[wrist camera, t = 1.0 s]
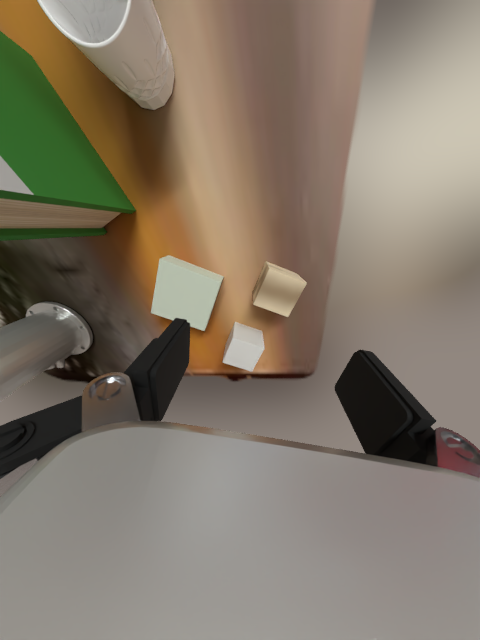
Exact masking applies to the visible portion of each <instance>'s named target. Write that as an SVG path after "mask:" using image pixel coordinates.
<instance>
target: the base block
mask: <svg viewBox="0 0 480 640" xmlns="http://www.w3.org/2000/svg"><path fill="white" fill-rule="evenodd" d="M223 278H224V276H221V275H218V274H216V273H213V272H211V271H208V270H206V269H203V268H200V267H198V266H195V265H193V264H190V263H188V262H185V261H183V260H180V259H177V258H175V257H172V256H170V255H168V256H166V257H163V258H160V260H159V266H158V272H157V279H156V285H155V291H154V297H153V303H152V309H151V313H152V314H155V315H158V316H161V317H164V318H167V319H170V320H174V319H175V318H180V319H186V320H187V322H188V323H190V326H191V327H194V328H196V329H199V330H202V331H205V329H206V326H207V324H208V321H209V318H210V315H211V312H212V310H213V307H214V304H215V301H216V298H217V295H218V292H219V289H220V286H221V283H222V280H223Z"/></svg>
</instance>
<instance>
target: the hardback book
mask: <svg viewBox="0 0 480 640" xmlns="http://www.w3.org/2000/svg"><path fill="white" fill-rule="evenodd" d="M135 211H136V210H135V208H134V207H133V205H132V204H131V202H130V201H129V199H128V198H127V196H126V195H125V193H124V192H123V190H122V189H121V187H120V186H119V184H118V183H117V181H116V180H115V179H114V177H113V176H112V174H111V173H110V171H109V170H108V168H107V167H106V165H105V164H104V162H103V161H102V159H101V158H100V156H99V155H98V153H97V152H96V150H95V149H94V148H93V146H92V145H91V143H90V142H89V140H88V139H87V137H86V136H85V134H84V133H83V131H82V130H81V128H80V127H79V125H78V124H77V122H76V121H75V119H74V118H73V116H72V115H71V114H70V112H69V111H68V109H67V108H66V106H65V105H64V103H63V102H62V100H61V99H60V97H59V96H58V94H57V93H56V91H55V90H54V88H53V87H52V85H51V84H50V82H49V81H48V80H47V78H46V77H45V75H44V74H43V72H42V71H41V69H40V68H39V66H38V65H37V63H36V62H35V60H34V59H33V57H32V56H31V55H30V54H29V53H27V52H26V51H25V50H23V49H22V48H21V47H20V46H18V45H17V44H16V43H15V42H13V41H12V40H11V39H10V38H8V37H7V36H6V35H5V34H3V33H2V32H1V31H0V241H3V240H22V239H41V238H60V237H79V236H98V235H104V234H106V233H107V231H106V230H105V229H104V227H103V226H105V225H106V224H107V223H109V222H110V221H111V220H113V219H114V218H115V217H116V216H118V215H119V214H120V213H129V214H132V213H134V212H135Z"/></svg>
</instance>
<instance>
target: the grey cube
mask: <svg viewBox="0 0 480 640" xmlns="http://www.w3.org/2000/svg"><path fill="white" fill-rule="evenodd" d="M264 348H265V347H264V340H263V333H262V331H261V330H258V329H255V328H252V327H249V326H246V325H243V324H240V323H237V322H235V323H234V325H233V328H232V330H231V333H230V335H229V338H228V340H227V343H226V346H225V351H224V357H223V362H222V363H226V364H229V365H232V366H235V367H239V368H242V369H245V370H248V371H253V369H254V367H255V365H256V363H257V361H258V359H259V358H260V356H261V354H262V352H263V350H264Z"/></svg>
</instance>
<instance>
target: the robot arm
mask: <svg viewBox="0 0 480 640" xmlns="http://www.w3.org/2000/svg"><path fill="white" fill-rule="evenodd" d="M92 342H93V335H92V331H91V329H90V327H89V325H88V324H87V322H86V321H85V320H84V319H83V318H82V317H81V316H80V315H79V314H78V313H77V312H75V311H74V310H72V309H71V308H69V307H67V306H65V305H62V304H59V303H55V302H40V303H37V304H35V305H33V306H31V307H30V308H29V309H28V310H27V313H26V318H23V319H21V320H18V321H16V322H13V323H11V324H8V325H6V326H3V327H1V328H0V402H1V401H2V400H4V399H5V398H6V397H8V396H9V395H11V394H12V393H14V392H15V391H16V390H18V389H19V388H21V387H22V386H24V385H25V384H26V383H28V382H29V381H31V380H32V379H33V378H35V377H36V376H38V375H39V374H41V373H42V372H43V371H45V370H46V369H52V368H54V367H55V366H56V364H57V367H58V368H63V367H64V366H65V360H64V359H66V358H67V357H68V356H70V355H76V354H80V353H83V352H85V351H86V350H87V349H88V348H90V346H91V345H92ZM189 346H190V323H188V322H187V320H186V319H180V318H175V319H174V320H173V321H172V323H171V324H170V325H169V326H168V327H167V328H166V330H165V331H164V332H163V333H162V334H161V336H160V337H159V338H155V339H153V340H152V341H151V343H150V344H149V345H148V346H147V347H146V348H145V349H144V350H143V352H142V353H141V354H140V355H139V356H138V357H137V358H136V359H135V361H134V362H133V363H132V364H131V365H130V366H129V367H128V369H127V370H126V371H125V372H124V373H108V374H105V375H102V376H99V377H98V378H96V379H94V380H92V381H91V382H90V383H89V384H88V385H87V386H86V387H85V389H84V390H83V394H82V396H79V397H76V398H74V399H71V400H68V401H66V402H63V403H60V404H57V405H55V406H52V407H49V408H47V409H44V410H41V411H38V412H35V413H33V414H30V415H27V416H24V417H22V418H19V419H17V420H14V421H11V422H9V423H6V424H4V425H2V426H0V640H480V450H479V449H478V448H477V447H476V446H475V445H474V444H472V443H471V442H470V441H468V440H467V439H466V438H464V437H463V436H461V435H459V434H458V433H456V432H454V431H452V430H449V429H446V428H441V427H439V428H437V429H435V430H433V429H432V428H431V425H433V424H434V423H435V422H436V420H435V419H434V418H433V417H432V416H431V415H430V414H429V413H428V411H426V409H425V408H424V407H423V406H422V405H421V404H420V403H419V402H418V401H417V400H416V399H415V397H414V396H413V395H412V394H411V393H410V392H409V391H408V390H407V389H406V388H405V387H404V386H403V385H402V384H401V382H400V381H399V380H398V379H397V378H396V377H395V376H394V375H393V374H392V373H391V372H390V370H389V369H387V367H386V366H385V365H384V364H383V363H382V362H381V361H380V360H379V359H378V358H377V356H375V355H374V353H372V352H370V351H364V350H359V351H357V352H355V353H354V354H353V356H352V357H351V359H350V361H349V363H348V364H347V366H346V368H345V370H344V371H343V373H342V374H341V376H340V378H339V380H338V381H337V383H336V385H335V391H336V393H337V395H338V398H339V400H340V402H341V404H342V406H343V408H344V410H345V412H346V414H347V416H348V418H349V420H350V422H351V424H352V426H353V429H354V431H355V432H356V435H357V437H358V439H359V441H360V443H361V445H362V447H363V449H364V451H365V453H366V454H363V453H358V452H352V451H346V450H341V449H334V448H329V447H323V446H317V445H311V444H305V443H299V442H293V441H286V440H281V439H275V438H269V437H263V436H257V435H250V434H244V433H238V432H232V431H226V430H220V429H213V428H206V427H199V426H193V425H186V424H179V423H171V422H160V421H161V420H162V419H163V416H164V415H165V412H166V410H167V408H168V406H169V404H170V402H171V400H172V398H173V396H174V393H175V391H176V389H177V387H178V385H179V383H180V381H181V379H182V377H183V375H184V373H185V370H186V368H187V366H188V363H189ZM55 363H56V364H55Z"/></svg>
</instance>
